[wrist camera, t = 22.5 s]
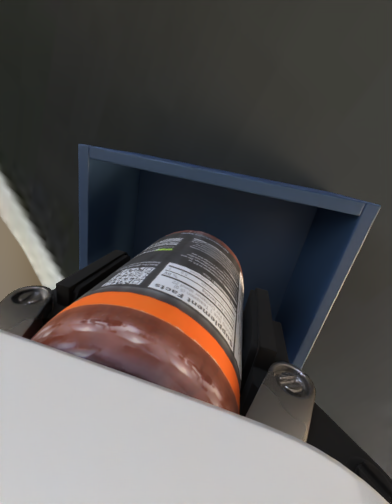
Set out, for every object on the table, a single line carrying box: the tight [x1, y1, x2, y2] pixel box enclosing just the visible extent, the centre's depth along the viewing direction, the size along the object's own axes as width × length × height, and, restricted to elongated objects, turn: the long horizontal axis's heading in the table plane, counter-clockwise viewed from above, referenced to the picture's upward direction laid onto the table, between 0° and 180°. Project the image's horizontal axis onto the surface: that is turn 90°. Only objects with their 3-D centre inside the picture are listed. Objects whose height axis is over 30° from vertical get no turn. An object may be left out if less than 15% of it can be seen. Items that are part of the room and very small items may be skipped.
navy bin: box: [79, 144, 381, 369], centre depth 16 cm, size 14×12×7 cm
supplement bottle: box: [30, 230, 244, 414], centre depth 8 cm, size 6×6×11 cm
